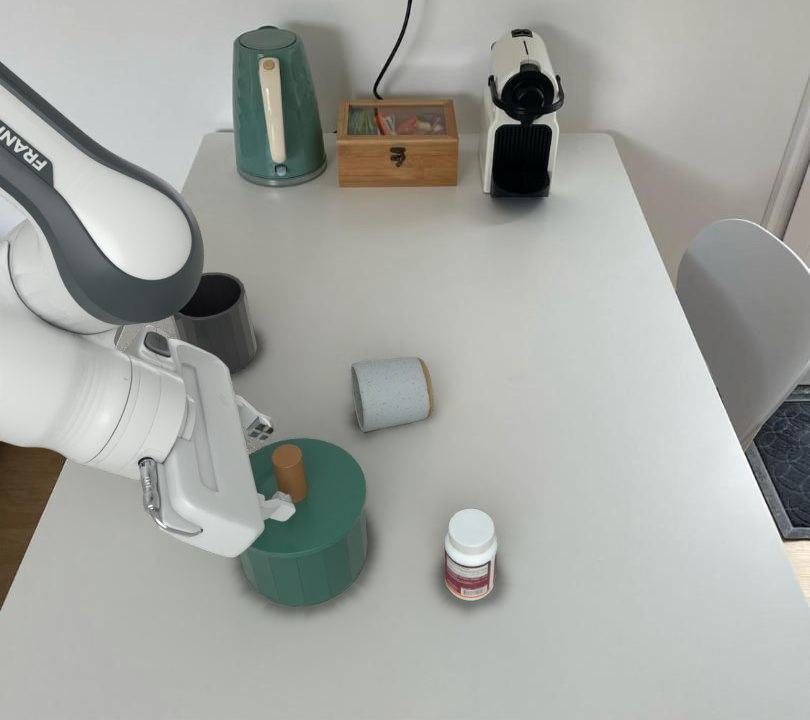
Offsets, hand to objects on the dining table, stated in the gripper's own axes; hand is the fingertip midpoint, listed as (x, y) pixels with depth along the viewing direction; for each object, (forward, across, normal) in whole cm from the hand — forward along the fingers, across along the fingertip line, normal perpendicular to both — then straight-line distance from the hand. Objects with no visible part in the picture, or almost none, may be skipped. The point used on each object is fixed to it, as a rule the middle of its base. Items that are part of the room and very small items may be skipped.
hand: (278, 467), depth 71 cm
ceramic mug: (+19, +15, -1) cm, 24 cm away
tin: (+9, -1, +8) cm, 12 cm away
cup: (+7, +31, +11) cm, 34 cm away
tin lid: (+3, -1, +2) cm, 4 cm away
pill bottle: (+19, -9, -2) cm, 21 cm away
